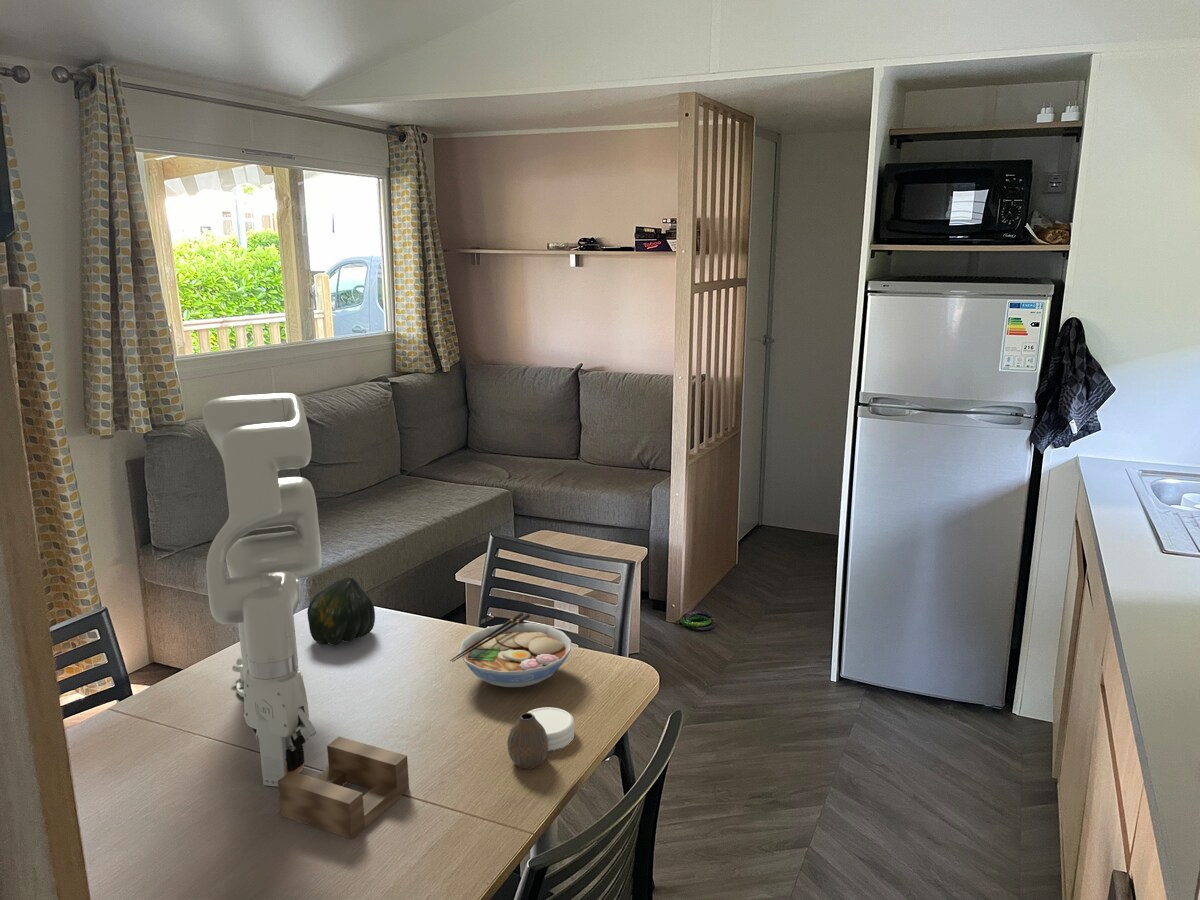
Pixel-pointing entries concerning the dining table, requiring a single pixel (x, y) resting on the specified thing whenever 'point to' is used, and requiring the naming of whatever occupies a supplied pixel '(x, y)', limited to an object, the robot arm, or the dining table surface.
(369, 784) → the socket
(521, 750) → the vase
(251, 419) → the robot arm
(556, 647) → the ramen bowl
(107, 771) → the dining table surface
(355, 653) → the dining table surface
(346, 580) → the squash
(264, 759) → the skincare box
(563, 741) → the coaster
